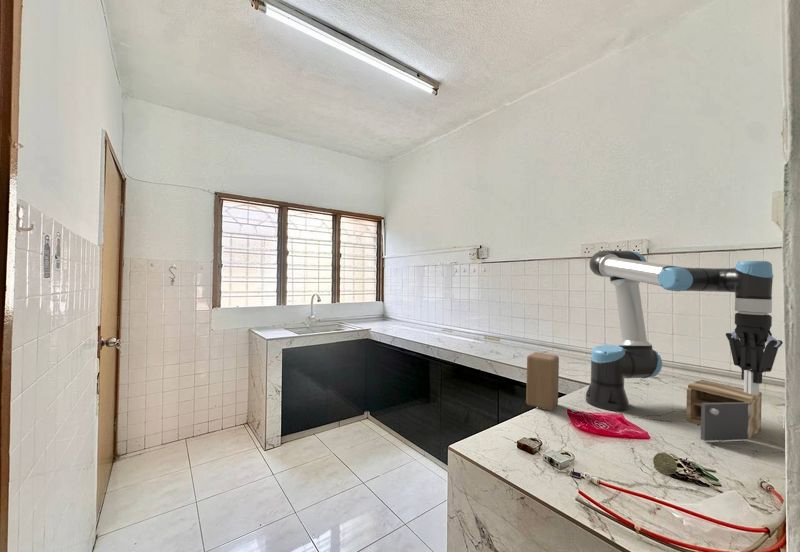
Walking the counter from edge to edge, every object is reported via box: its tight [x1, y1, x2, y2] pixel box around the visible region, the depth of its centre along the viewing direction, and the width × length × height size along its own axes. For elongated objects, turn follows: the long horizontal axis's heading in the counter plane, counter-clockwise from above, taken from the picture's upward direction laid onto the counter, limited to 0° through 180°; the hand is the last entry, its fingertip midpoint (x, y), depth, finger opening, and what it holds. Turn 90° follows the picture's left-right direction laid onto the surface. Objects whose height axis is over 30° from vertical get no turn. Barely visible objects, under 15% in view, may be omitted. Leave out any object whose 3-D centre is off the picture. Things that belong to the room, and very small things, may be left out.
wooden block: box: [525, 351, 560, 411], centre depth 134 cm, size 10×10×20 cm
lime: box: [652, 452, 678, 476], centre depth 88 cm, size 4×5×5 cm
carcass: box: [685, 379, 763, 440], centre depth 118 cm, size 14×16×13 cm
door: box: [700, 402, 750, 442], centre depth 105 cm, size 3×16×12 cm, turn 96°
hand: (751, 392), depth 98 cm, fingers closed
